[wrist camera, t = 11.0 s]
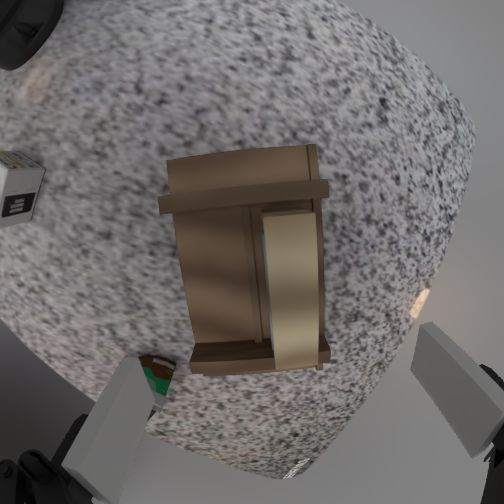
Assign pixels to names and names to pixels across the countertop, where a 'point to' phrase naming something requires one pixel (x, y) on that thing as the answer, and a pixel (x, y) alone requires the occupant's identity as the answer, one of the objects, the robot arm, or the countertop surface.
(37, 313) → the countertop surface
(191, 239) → the wooden slatted panel
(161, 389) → the food container
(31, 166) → the container
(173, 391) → the countertop surface
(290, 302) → the tan rectangular block
